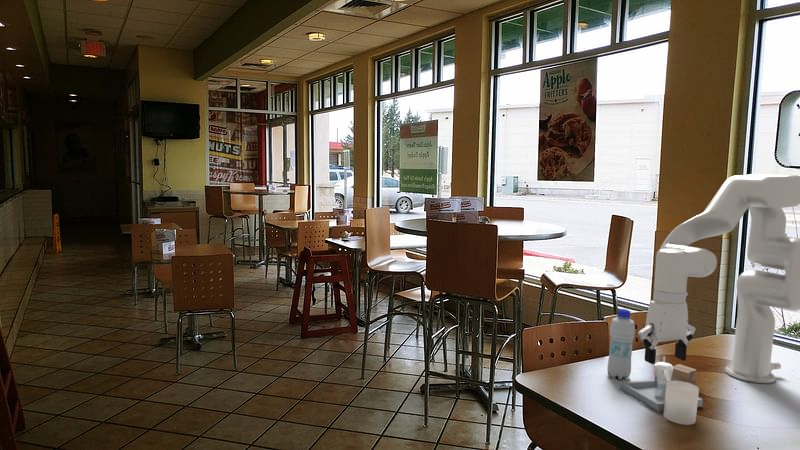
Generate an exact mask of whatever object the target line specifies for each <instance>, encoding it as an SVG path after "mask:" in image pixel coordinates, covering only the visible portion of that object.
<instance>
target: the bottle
mask: <svg viewBox="0 0 800 450" xmlns="http://www.w3.org/2000/svg"><path fill="white" fill-rule="evenodd" d="M635 328H636V327H635V321H634V320H633V319H631V311H630V310H629V309H626V308H619V309H618V310H617V315H616V317H613V318H612V319H611V324H610V327H609V335H610V339H609V340H610V341H609V351H608V353H609V355H608V362H607V368H606V369H607V375H608V376H609V377H611V378H612V379H616V376H617V378H618V380H619V381H620V380H622V379H623V380H626V381H627V379H629V377H630V375H631V373H632V355H633V342H634V339H635V334H636V329H635Z"/></svg>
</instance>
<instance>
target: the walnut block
mask: <svg viewBox="0 0 800 450" xmlns="http://www.w3.org/2000/svg"><path fill="white" fill-rule="evenodd" d="M672 366H673V373H672V378H671V381H682V382H687V383H690V384H693V385H695V386H696V378H697V371H698V369H696V368H693V367H689V366H686V365H683V364H681V363H680V364H679V363H678V364H675V365H672Z"/></svg>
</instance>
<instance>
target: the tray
mask: <svg viewBox="0 0 800 450" xmlns="http://www.w3.org/2000/svg"><path fill="white" fill-rule="evenodd" d="M619 391H621V392H623V393H624V394H626V395H628V396H629V397H631V398H633V399H635V400H637V402H640V403H641V404H644V405H645V406H647V407H648V408H650V409H652V410H653V411H656V413H658V412H664V403H665V399H661V398H658V397H656V396H655V395H654V394H655V378H654V379H653V378H652V379H644V380H643V379H642V380H631V381H622V382H619ZM703 402H704V400H703V398H701V397H699V396H698V403H697V408H702V407H703Z"/></svg>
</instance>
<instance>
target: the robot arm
mask: <svg viewBox="0 0 800 450" xmlns="http://www.w3.org/2000/svg"><path fill="white" fill-rule="evenodd" d="M799 205H800V175H797V174H777V173H775V174H773V173H750V174H745V175H744V174H737V175H733V176H730V177H728V178H726V180H725V181H724V182H723V184H721V186H720V187H719V189H718V191H716V193H715V194H714V196H713V198H712V199H711V201H710V202H709V203H708V204H707V206H706V208H705V209H704V210H703V212H702V213H700V214H697V215H695V216H693V217H691V218H690V219H688V220H686V221H684V222H682V223H680V224H679V225H677V226H676V227H675V228H674V229H673V230H672V231H670V233H669V234H668V235H667V236H666V238H665V239H664V241H663V242H662V244H661V246H660V248H659V250H658V251H656V252H657V253H656V255H655V269H654V270H655V271H654V283H653V284H654V286H653V288H654V289H653V300H650V302H649V306H648V310H647V313H646V318H645V327H643V328H642V329H640V330H639V331H638V332H637V335H638V337H639V341H640V342H641V344H642V345H643V347H644V361H645V362H646V363H649V364H650V365H655V363H656V358H657V356H656V355H657V349H655V348H656V346H657V345H658V343H659V342H660V343H663V342H671V341H676V342H675V343H674V344H675V346H674V347H675V348H674V358H677V359H679V360H681V361H684V362H685V361H686V360H687V358H686V357H687V348H688V346H689V345H690V341H692V339H693V336H694V334H695V332H696V329H697V328H696V327H695V326H693V325H691V324H689V310H688V303H687V302H686V300H687V296H688V295H689V293H688V291H687V289H688V288H687V287H688V285H687V284H688V277H689V278H690V277H692V278H693V277H694V278H704V277H707V276H710V275H711V274H713V273H714V272H715V270H716V269H717V266H718V260H717V256H716V255H715V254H714V253H713V252H712V251H710V250H709V249H706V248H702V247H697V246H696V247H695V246H692V245H691V244H693V243H694V242H697V241H700V240H702V239H707V238H712V237H717V236H721V235H724V234H728V233H731V232H732V231H733V230H734V229H735V227H736V226H737V225H738V224H739V222H740V220H741V219H742V217H743V216H744V215H745V212H747V210H748V211H749V213H750V214H749V215H750V218H751V219H750V228H749V237H748V244H747V259H748V261H749V262H750V263H751V264H752V265H755V266H758V267H764V268H769V269H773V270H774V269H775V270H781V271H784V273H785V274H779V273H776V272H771V271H766V270H765V271H764V270H758V269H750V270H746V271H743V272H741V273H740V274H739V276H738V277H737V280H736V294H737V317H736V322H735V323H736V324H735V333H734V343H733V352H732V361H731V364H728V365H727V366H726V365H725V372H726V373H727V374H728V375H730V376H731V377H734V378H736V379H738V380H742V381H746V382H749V383H750V382H751V383H757V384H771V383H774V382H775V381H776V376H775V375H774V374H773V373H772V371H773V370H780V369H781V367H782V365H781V363H780V362H772V353H773V346H774V345H773V343H774V336H775V328H776V318H775V315H774V313H773V311H772V308H771V307H773V308H778V309H781V310H785V311H793V312H795V311H800V238H799V237H793V236H786V227H787V216H786V214H785V212H784V209H783V208H785V209H786V208H791V207H797V206H799ZM690 245H691V246H690Z"/></svg>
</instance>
